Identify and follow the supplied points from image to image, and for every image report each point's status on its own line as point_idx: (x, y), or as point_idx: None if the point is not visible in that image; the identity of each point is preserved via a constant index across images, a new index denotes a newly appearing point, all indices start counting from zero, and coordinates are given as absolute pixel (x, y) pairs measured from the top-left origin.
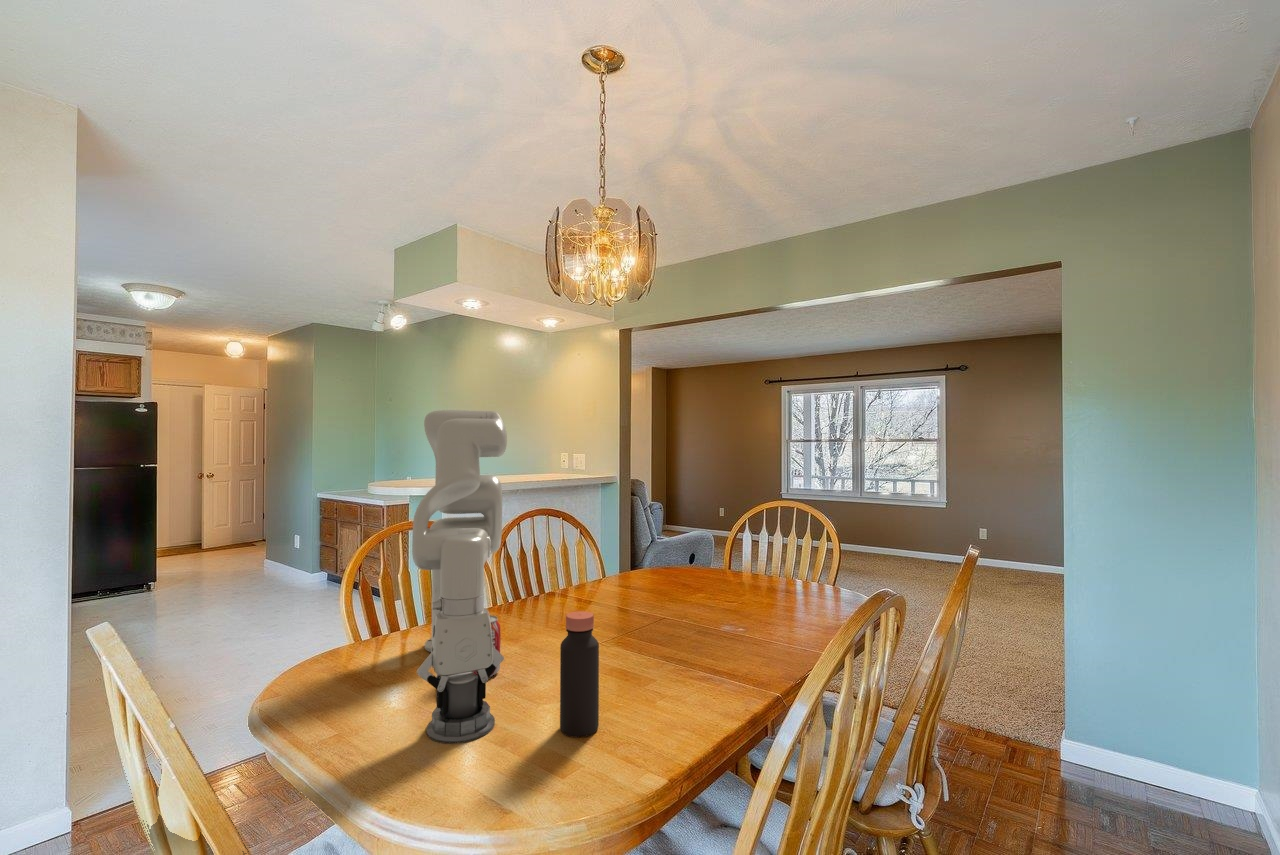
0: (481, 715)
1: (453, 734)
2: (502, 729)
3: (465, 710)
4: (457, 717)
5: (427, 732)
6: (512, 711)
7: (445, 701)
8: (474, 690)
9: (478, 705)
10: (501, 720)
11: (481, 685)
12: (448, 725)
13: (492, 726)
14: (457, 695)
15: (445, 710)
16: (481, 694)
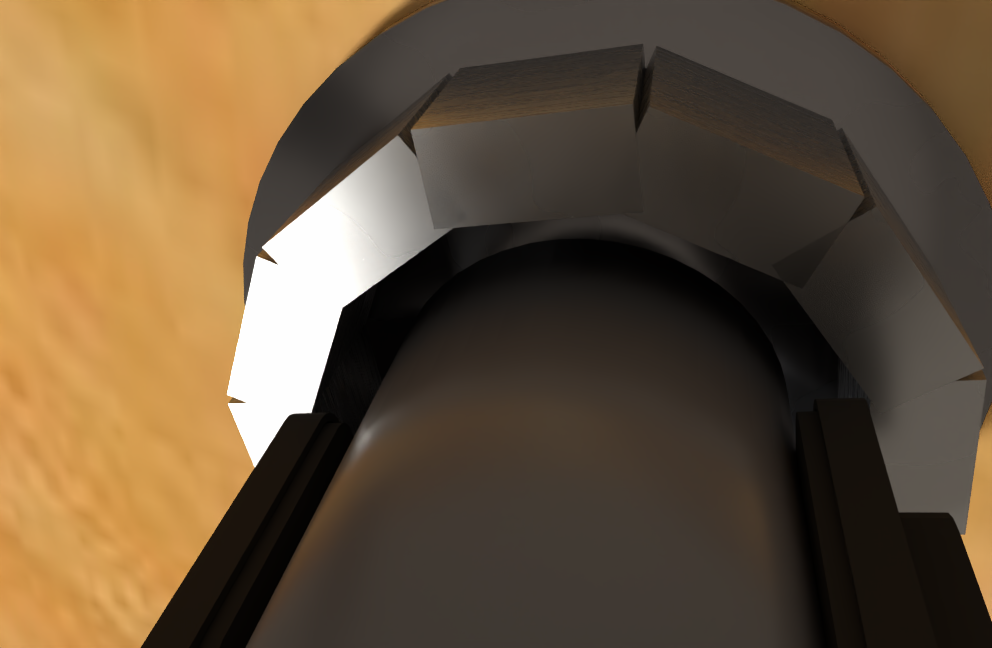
0: (319, 211)
1: (735, 86)
2: (169, 120)
3: (527, 328)
4: (654, 297)
5: None
6: (118, 426)
7: (862, 536)
8: (299, 568)
9: (347, 429)
10: (199, 311)
11: (168, 646)
12: (814, 164)
13: (263, 181)
14: (643, 534)
15: (837, 423)
16: (242, 523)
